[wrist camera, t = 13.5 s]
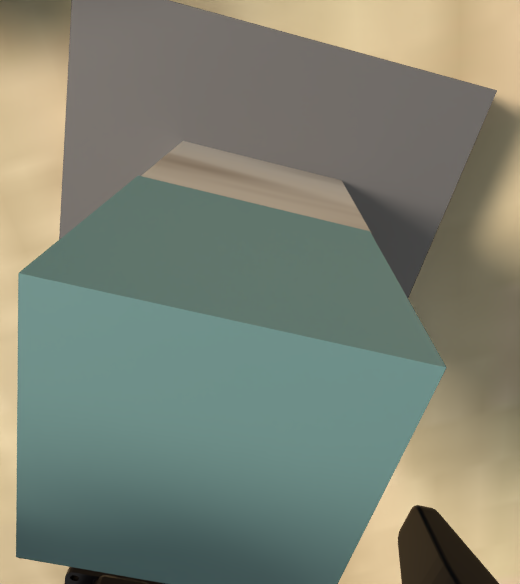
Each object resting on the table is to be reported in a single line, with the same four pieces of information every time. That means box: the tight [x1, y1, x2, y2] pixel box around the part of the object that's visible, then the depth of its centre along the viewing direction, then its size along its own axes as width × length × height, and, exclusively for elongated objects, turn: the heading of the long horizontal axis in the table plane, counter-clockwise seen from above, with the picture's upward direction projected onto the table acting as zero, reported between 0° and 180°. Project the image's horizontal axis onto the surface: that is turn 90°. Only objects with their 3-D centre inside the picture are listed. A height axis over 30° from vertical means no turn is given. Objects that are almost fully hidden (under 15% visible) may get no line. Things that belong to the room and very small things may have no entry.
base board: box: [59, 0, 497, 298], centre depth 16 cm, size 12×12×2 cm
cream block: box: [142, 141, 371, 232], centre depth 13 cm, size 5×5×5 cm
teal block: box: [16, 176, 446, 584], centre depth 9 cm, size 5×5×5 cm
